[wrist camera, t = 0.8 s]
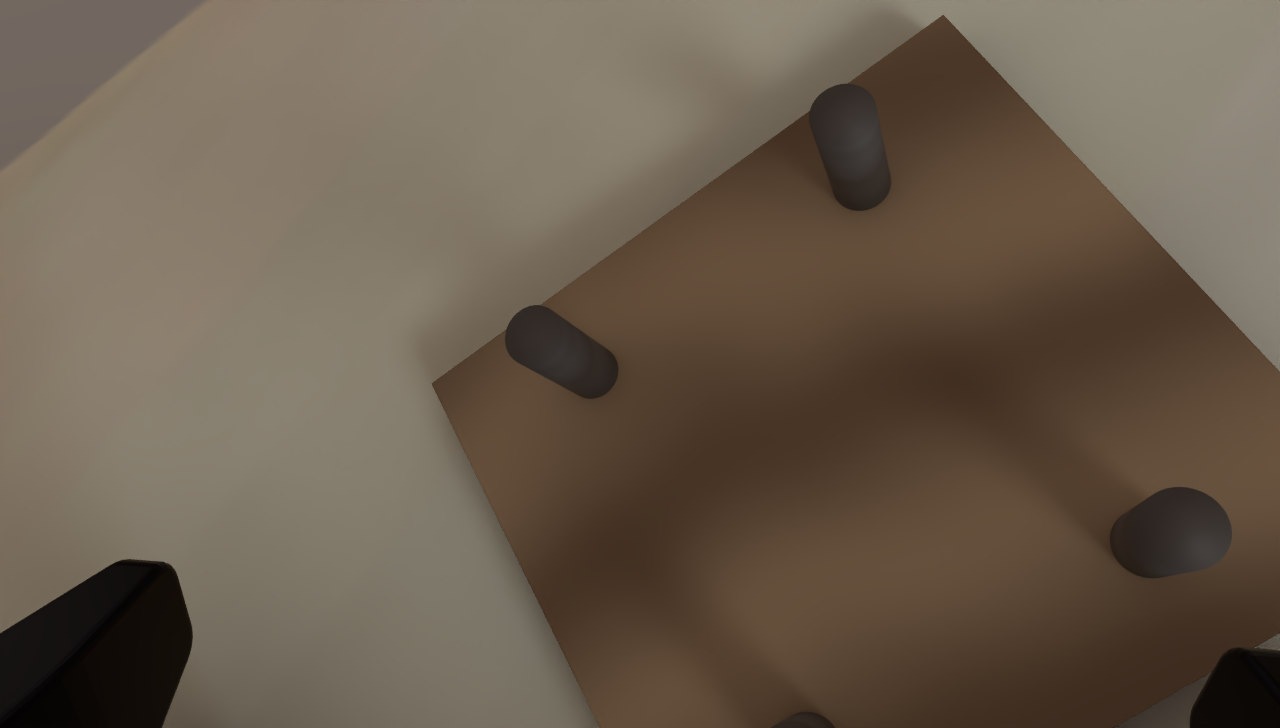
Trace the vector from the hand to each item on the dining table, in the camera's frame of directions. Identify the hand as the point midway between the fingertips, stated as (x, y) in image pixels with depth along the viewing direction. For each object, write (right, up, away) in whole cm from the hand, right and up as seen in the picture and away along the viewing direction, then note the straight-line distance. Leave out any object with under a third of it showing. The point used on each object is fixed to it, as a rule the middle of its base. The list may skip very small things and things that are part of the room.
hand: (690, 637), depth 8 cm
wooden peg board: (+4, 0, +11) cm, 12 cm away
